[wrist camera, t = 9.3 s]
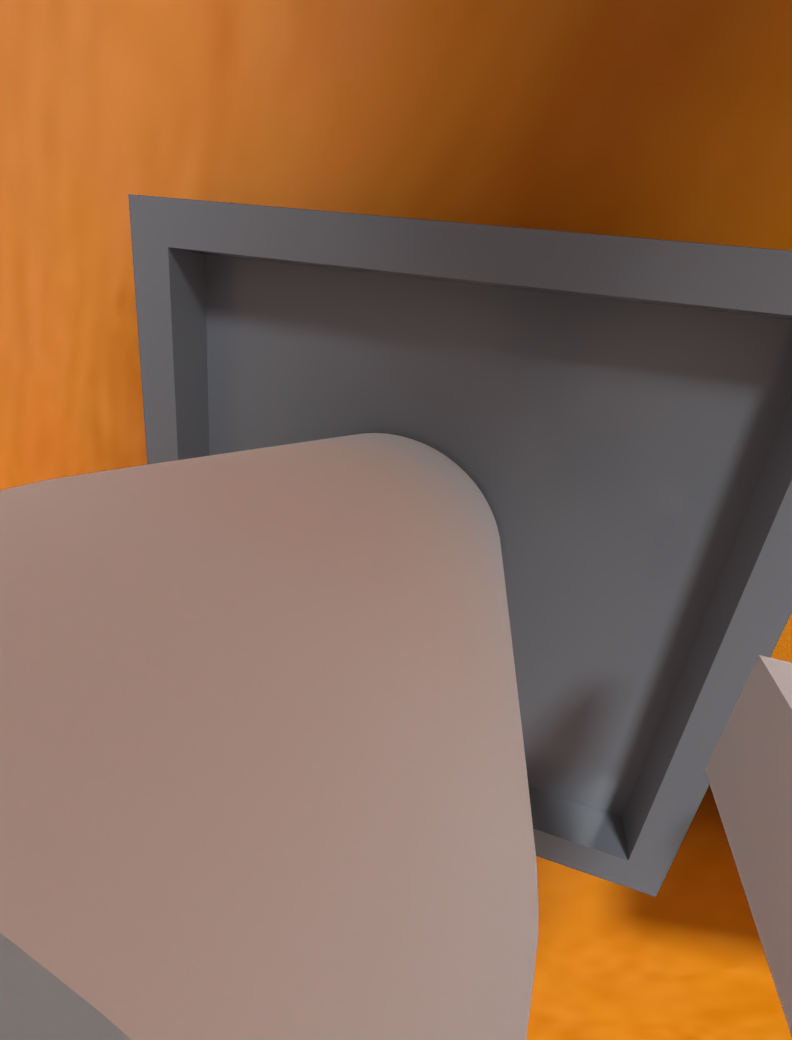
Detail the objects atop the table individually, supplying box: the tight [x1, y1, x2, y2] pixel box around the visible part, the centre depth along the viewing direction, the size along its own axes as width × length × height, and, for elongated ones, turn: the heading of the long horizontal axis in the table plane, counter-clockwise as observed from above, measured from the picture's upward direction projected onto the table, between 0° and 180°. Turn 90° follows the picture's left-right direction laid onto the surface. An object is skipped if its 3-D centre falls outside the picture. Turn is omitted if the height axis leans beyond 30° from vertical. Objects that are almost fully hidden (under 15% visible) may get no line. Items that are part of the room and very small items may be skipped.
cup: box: [0, 433, 539, 1040], centre depth 9 cm, size 9×9×12 cm
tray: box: [128, 194, 792, 897], centre depth 14 cm, size 16×16×2 cm
